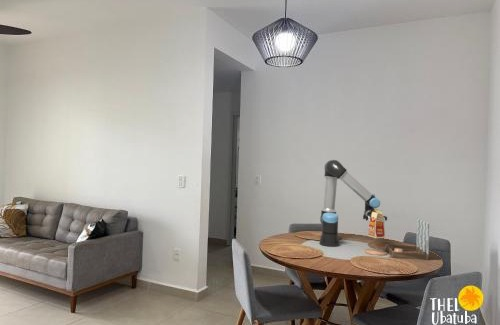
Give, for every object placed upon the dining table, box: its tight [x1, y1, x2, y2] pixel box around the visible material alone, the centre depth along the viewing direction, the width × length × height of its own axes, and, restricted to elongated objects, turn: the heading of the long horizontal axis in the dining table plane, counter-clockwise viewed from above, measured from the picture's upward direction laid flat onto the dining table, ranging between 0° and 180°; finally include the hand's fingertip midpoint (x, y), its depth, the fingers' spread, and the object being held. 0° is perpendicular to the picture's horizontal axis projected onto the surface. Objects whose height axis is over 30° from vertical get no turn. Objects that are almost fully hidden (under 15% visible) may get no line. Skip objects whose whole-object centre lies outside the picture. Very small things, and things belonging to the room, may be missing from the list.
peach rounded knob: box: [393, 248, 403, 253], centre depth 234 cm, size 5×5×5 cm
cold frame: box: [384, 218, 430, 261], centre depth 240 cm, size 25×22×24 cm
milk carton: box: [366, 208, 386, 239], centre depth 242 cm, size 9×9×20 cm
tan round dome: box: [364, 248, 388, 256], centre depth 242 cm, size 15×15×1 cm
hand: (376, 219), depth 242 cm, fingers closed on milk carton, 9 cm apart
